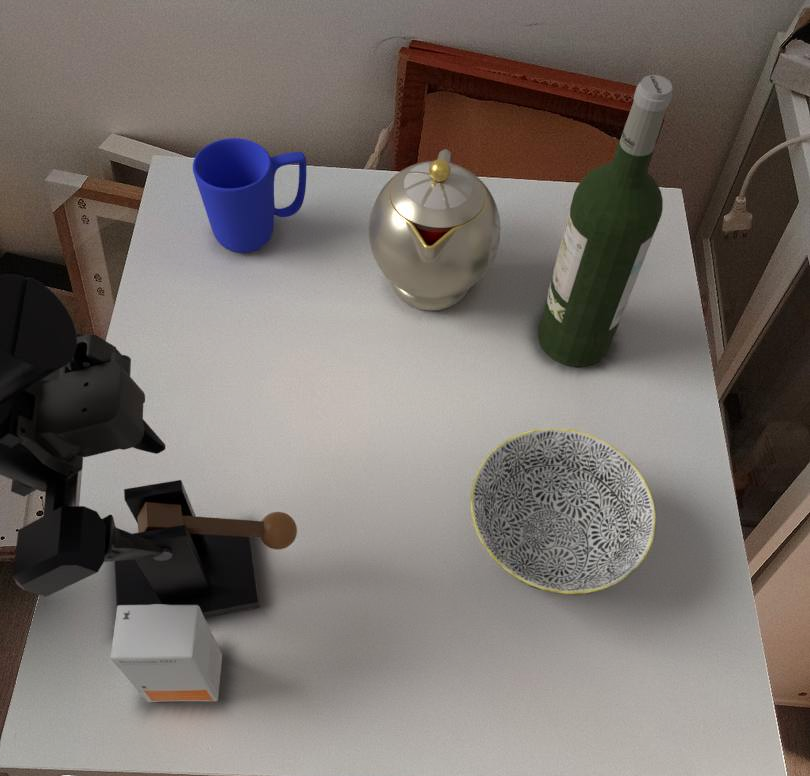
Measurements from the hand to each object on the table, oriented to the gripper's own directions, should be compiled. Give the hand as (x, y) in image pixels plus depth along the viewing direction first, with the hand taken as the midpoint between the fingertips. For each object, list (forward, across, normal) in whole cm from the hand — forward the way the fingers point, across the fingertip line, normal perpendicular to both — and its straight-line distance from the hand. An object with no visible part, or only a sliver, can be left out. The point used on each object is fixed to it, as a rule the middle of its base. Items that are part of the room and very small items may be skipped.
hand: (160, 499), depth 64 cm
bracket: (+10, -1, +8) cm, 13 cm away
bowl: (+29, -1, -19) cm, 35 cm away
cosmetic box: (+10, -10, +8) cm, 17 cm away
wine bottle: (+34, +23, -26) cm, 48 cm away
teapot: (+26, +34, -15) cm, 45 cm away
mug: (+15, +42, +1) cm, 45 cm away
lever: (+7, -1, +1) cm, 7 cm away
